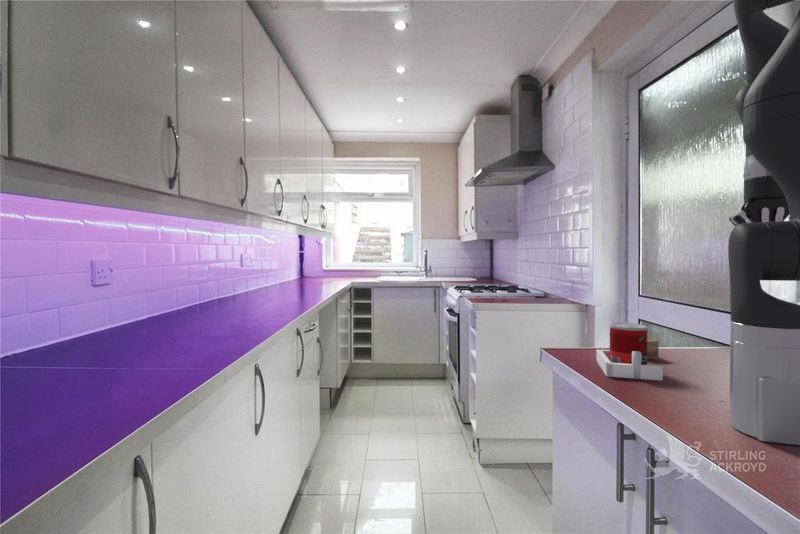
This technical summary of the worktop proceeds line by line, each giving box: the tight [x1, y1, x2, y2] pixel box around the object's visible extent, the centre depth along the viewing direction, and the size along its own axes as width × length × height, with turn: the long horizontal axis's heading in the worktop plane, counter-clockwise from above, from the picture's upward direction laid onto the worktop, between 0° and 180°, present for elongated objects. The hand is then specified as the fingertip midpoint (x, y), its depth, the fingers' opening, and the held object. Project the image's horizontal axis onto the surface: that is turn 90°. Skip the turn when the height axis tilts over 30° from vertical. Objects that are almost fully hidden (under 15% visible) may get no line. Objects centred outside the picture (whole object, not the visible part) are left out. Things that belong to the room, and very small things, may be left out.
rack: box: [595, 348, 664, 382], centre depth 95 cm, size 15×11×6 cm
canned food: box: [609, 322, 648, 365], centre depth 95 cm, size 8×8×11 cm
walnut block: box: [647, 337, 659, 361], centre depth 106 cm, size 5×5×5 cm
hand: (766, 258), depth 81 cm, fingers closed
